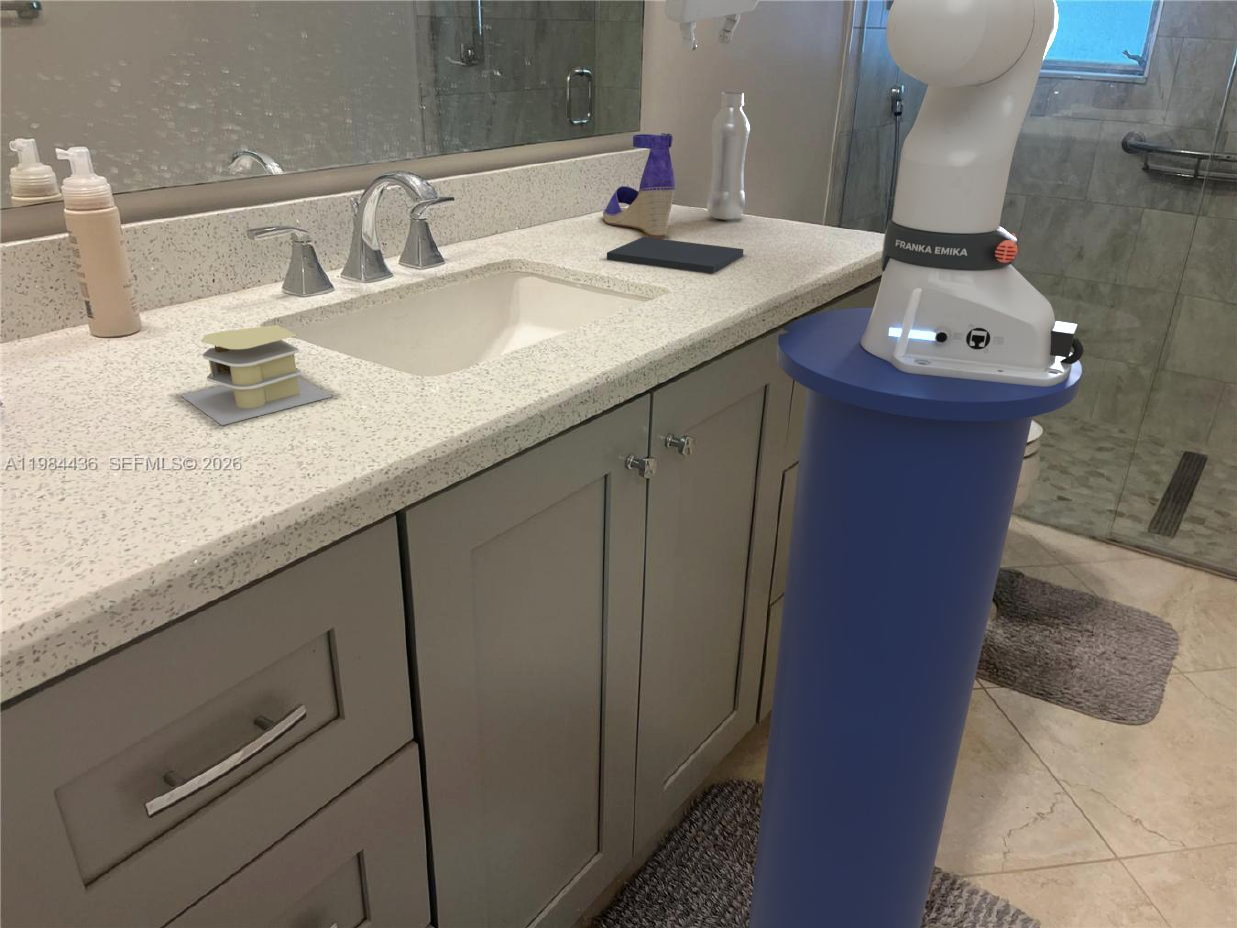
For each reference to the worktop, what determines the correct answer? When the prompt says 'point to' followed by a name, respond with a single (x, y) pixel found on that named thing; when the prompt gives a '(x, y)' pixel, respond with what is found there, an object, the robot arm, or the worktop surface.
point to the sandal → (647, 191)
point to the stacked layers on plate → (252, 375)
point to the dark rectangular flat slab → (676, 254)
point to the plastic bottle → (728, 158)
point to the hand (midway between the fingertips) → (706, 46)
